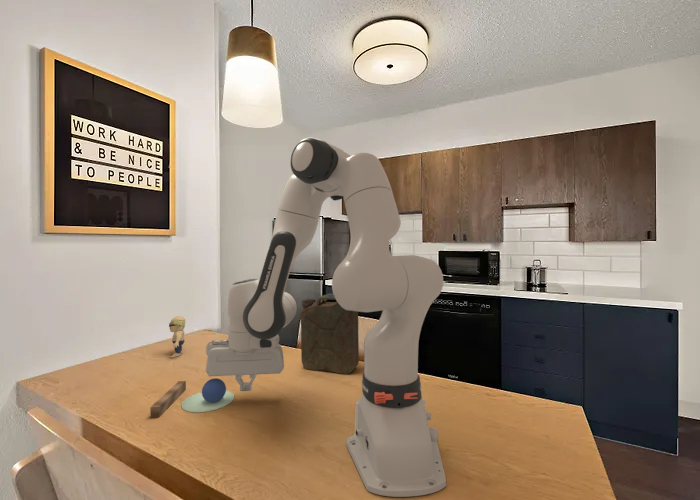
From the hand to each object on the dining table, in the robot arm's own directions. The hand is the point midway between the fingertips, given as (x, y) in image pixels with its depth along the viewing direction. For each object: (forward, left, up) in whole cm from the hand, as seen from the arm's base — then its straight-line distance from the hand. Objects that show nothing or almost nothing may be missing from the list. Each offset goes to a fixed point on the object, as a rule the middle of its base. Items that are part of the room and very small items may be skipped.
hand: (246, 390), depth 92 cm
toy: (+41, +35, -3) cm, 54 cm away
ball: (-1, +8, +1) cm, 8 cm away
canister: (+21, -23, -3) cm, 31 cm away
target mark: (0, +10, -2) cm, 10 cm away
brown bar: (0, +20, -2) cm, 20 cm away
